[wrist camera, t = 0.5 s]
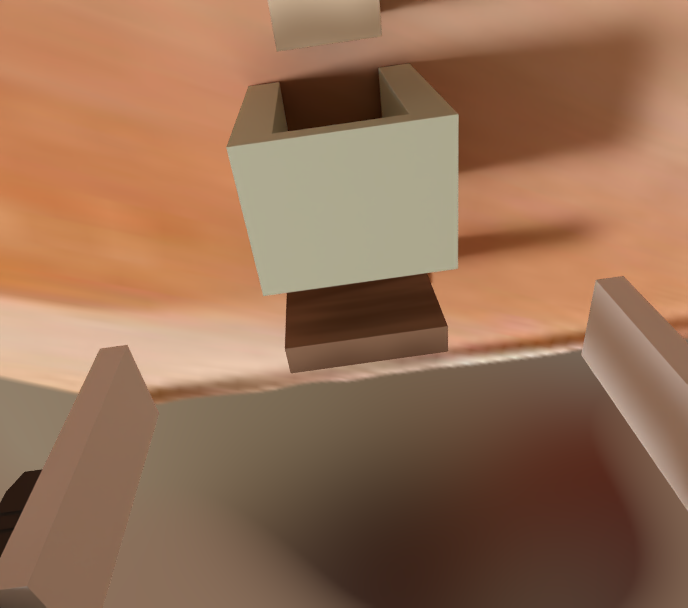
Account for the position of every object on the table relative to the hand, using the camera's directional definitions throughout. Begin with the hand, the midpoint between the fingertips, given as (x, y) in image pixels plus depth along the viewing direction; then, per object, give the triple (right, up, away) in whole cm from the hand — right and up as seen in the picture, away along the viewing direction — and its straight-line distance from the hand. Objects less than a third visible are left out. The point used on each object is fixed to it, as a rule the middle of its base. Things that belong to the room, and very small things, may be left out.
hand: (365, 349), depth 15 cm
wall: (0, +5, +27) cm, 27 cm away
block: (-1, +13, +21) cm, 24 cm away
